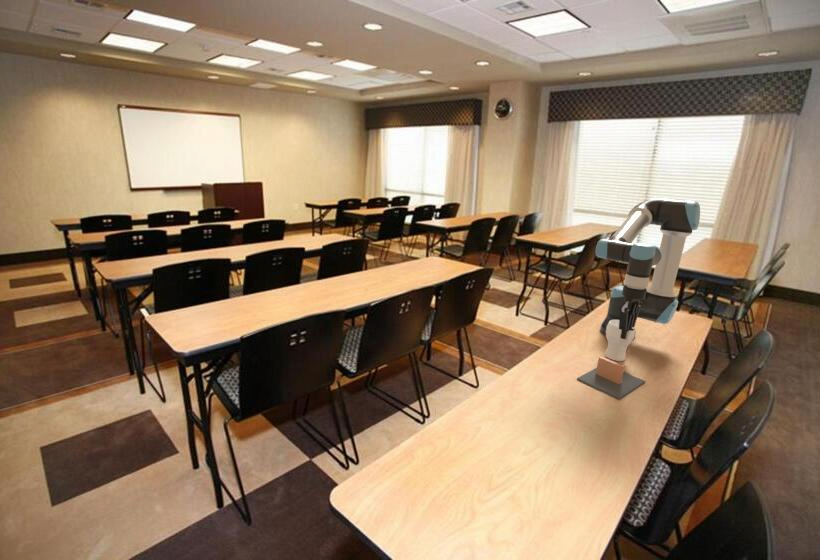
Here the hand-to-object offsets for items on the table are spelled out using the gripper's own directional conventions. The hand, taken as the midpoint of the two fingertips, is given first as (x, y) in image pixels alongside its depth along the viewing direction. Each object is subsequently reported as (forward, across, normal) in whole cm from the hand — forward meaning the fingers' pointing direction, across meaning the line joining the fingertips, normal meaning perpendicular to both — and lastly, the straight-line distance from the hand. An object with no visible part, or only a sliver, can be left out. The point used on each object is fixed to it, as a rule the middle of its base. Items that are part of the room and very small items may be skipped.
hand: (622, 345), depth 153 cm
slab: (+12, +6, 0) cm, 13 cm away
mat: (+13, +6, +1) cm, 14 cm away
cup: (+13, -15, -8) cm, 21 cm away
